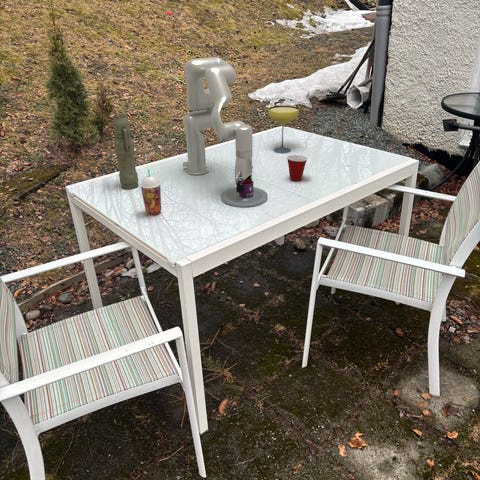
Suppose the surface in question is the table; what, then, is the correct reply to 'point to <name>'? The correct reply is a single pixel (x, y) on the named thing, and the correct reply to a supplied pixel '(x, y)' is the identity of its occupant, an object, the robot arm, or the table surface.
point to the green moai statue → (125, 153)
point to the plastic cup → (296, 166)
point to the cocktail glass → (283, 120)
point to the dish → (235, 200)
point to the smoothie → (151, 194)
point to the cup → (247, 189)
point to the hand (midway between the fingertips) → (244, 188)
